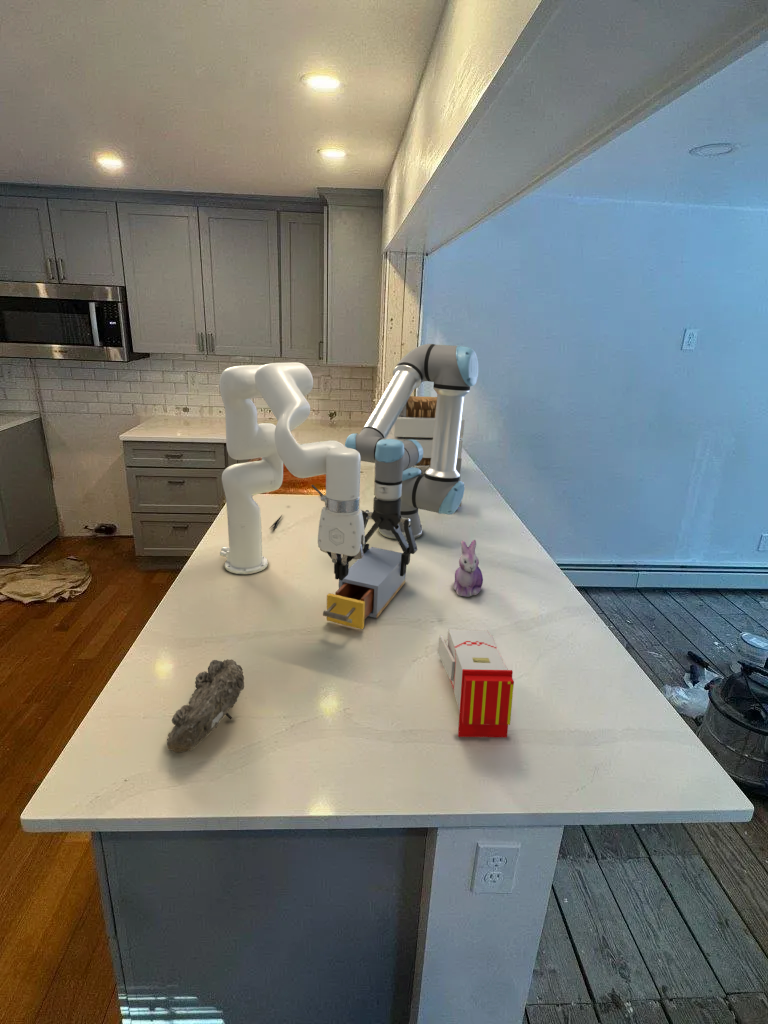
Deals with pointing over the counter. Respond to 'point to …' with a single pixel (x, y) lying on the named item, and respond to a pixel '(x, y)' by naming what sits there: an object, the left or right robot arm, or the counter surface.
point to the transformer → (421, 427)
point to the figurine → (468, 572)
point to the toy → (478, 682)
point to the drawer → (350, 605)
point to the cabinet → (377, 576)
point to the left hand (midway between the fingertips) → (341, 577)
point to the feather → (275, 523)
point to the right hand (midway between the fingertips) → (383, 570)
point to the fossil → (206, 705)
